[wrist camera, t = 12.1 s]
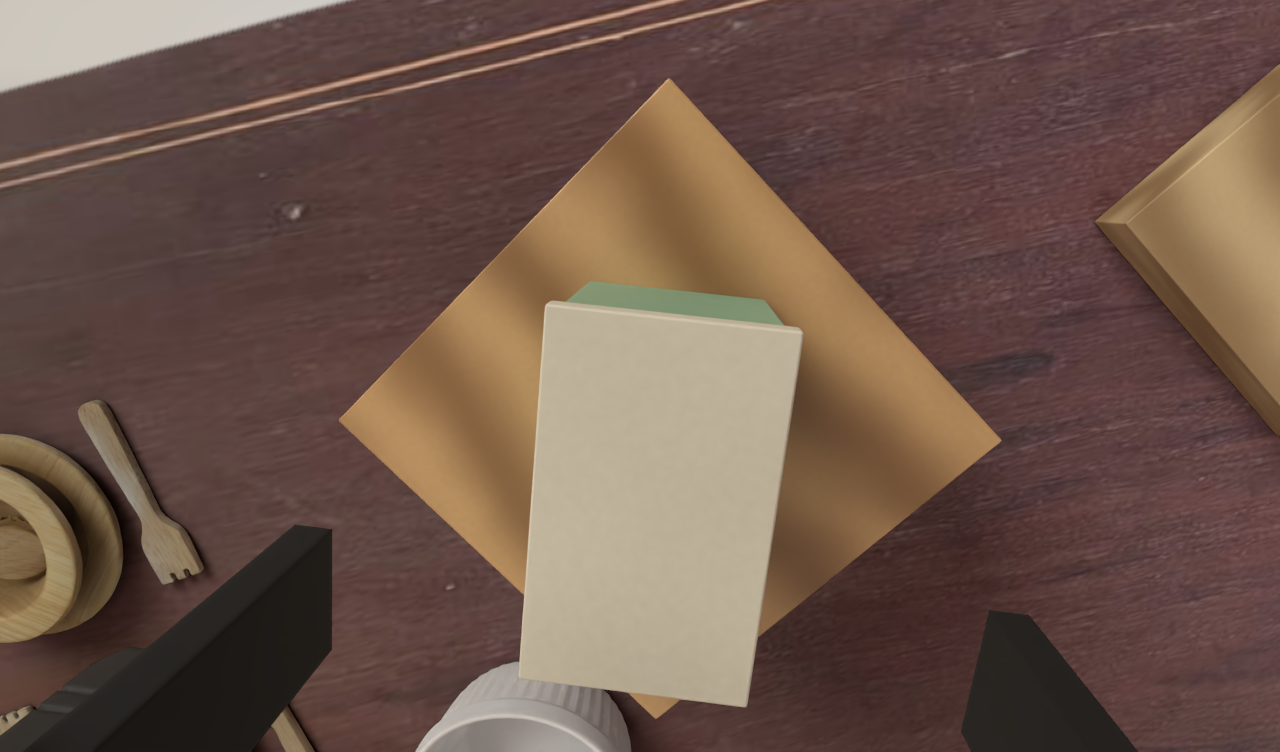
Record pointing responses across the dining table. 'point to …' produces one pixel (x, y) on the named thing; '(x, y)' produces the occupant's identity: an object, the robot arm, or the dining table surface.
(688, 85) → the dining table surface
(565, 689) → the ramekin
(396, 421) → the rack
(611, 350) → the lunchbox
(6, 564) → the tableware set
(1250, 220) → the wooden square board
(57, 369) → the dining table surface
